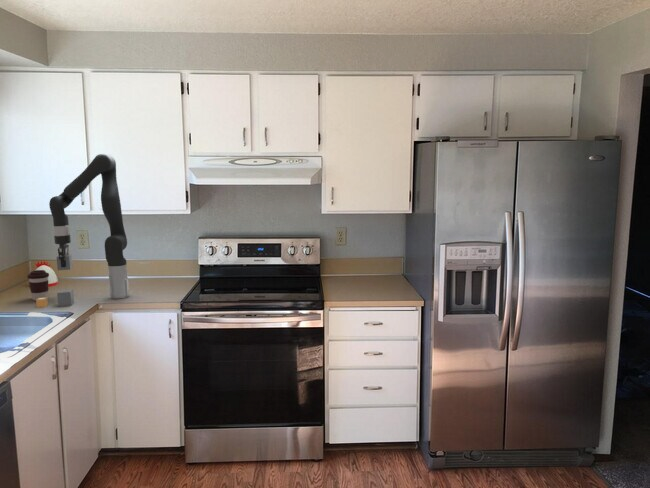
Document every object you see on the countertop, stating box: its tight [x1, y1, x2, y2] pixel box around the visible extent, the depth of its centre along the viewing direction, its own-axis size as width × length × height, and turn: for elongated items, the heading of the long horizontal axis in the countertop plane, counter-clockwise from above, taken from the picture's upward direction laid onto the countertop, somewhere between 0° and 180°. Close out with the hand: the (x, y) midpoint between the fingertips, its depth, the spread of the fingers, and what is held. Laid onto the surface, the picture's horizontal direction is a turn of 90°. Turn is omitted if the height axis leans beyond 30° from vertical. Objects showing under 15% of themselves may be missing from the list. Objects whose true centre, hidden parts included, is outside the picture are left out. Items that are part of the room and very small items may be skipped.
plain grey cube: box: [56, 254, 73, 271], centre depth 277 cm, size 6×6×7 cm
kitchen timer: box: [34, 259, 59, 288], centre depth 311 cm, size 14×14×15 cm
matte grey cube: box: [57, 289, 75, 307], centre depth 266 cm, size 6×6×7 cm
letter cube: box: [36, 297, 49, 308], centre depth 264 cm, size 4×4×4 cm
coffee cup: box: [26, 269, 49, 301], centre depth 277 cm, size 10×10×15 cm
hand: (65, 265), depth 278 cm, fingers closed on plain grey cube, 6 cm apart
